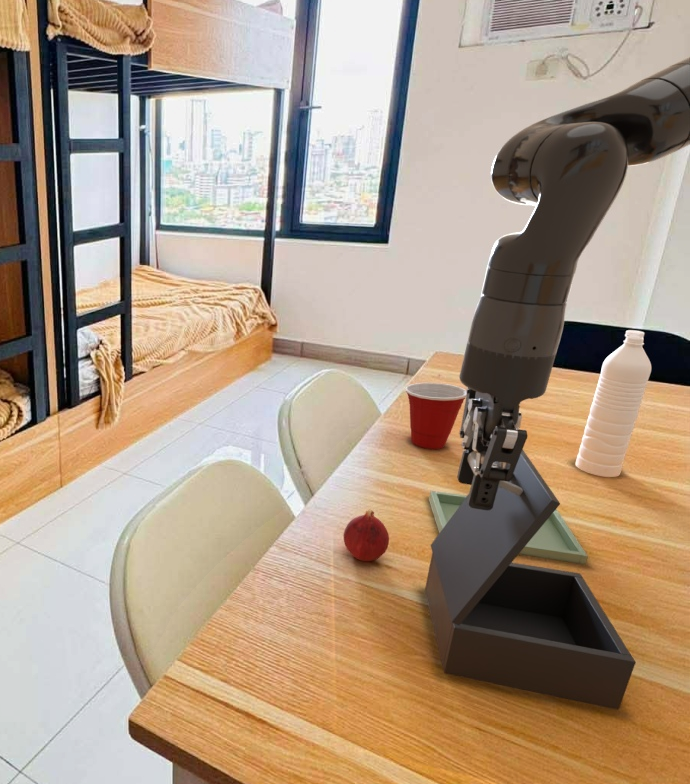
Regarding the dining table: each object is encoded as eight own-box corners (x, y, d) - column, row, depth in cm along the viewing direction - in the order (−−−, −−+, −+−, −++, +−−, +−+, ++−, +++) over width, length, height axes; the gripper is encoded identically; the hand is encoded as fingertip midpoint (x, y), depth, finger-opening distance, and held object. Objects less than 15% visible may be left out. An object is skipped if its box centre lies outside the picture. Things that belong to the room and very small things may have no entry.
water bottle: (618, 482, 109) (661, 344, 100) (573, 472, 113) (610, 337, 104) (620, 465, 115) (659, 333, 107) (576, 455, 119) (611, 327, 110)
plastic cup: (416, 430, 131) (425, 375, 127) (468, 448, 122) (480, 390, 118) (384, 442, 125) (393, 385, 121) (436, 462, 117) (448, 402, 113)
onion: (389, 575, 85) (398, 524, 82) (344, 571, 86) (352, 520, 83) (379, 551, 90) (387, 502, 87) (337, 547, 91) (344, 498, 88)
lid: (517, 440, 71) (471, 420, 72) (560, 503, 58) (504, 478, 59) (436, 548, 78) (395, 528, 79) (459, 626, 65) (409, 601, 66)
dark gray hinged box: (566, 620, 76) (580, 573, 74) (616, 716, 63) (636, 662, 61) (423, 595, 81) (432, 549, 79) (442, 679, 68) (454, 627, 65)
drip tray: (552, 518, 98) (555, 507, 97) (584, 569, 86) (588, 555, 85) (428, 501, 103) (430, 490, 102) (442, 546, 91) (444, 534, 90)
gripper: (582, 368, 54) (532, 536, 60) (533, 329, 67) (496, 471, 73) (485, 358, 56) (446, 522, 62) (455, 323, 69) (425, 461, 75)
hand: (473, 494), depth 68 cm, fingers closed on lid, 5 cm apart
